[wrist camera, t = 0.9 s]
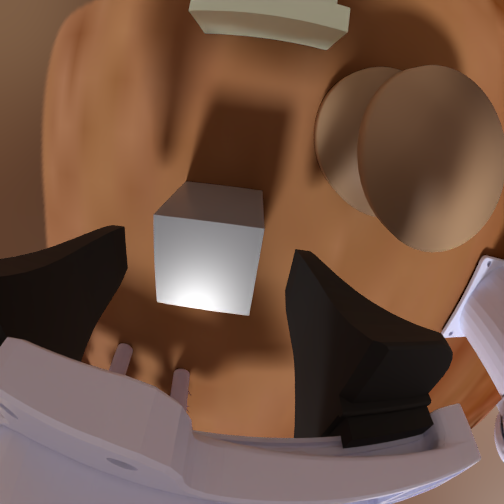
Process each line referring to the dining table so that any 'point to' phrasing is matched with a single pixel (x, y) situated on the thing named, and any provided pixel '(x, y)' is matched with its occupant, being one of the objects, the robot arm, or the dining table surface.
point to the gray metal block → (208, 247)
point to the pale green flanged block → (275, 19)
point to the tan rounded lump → (413, 152)
